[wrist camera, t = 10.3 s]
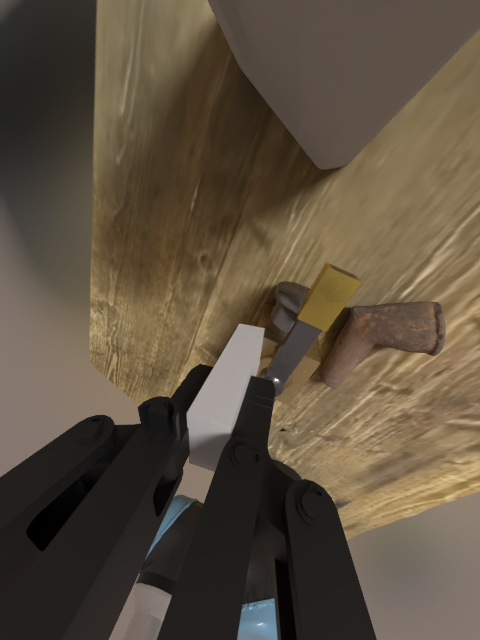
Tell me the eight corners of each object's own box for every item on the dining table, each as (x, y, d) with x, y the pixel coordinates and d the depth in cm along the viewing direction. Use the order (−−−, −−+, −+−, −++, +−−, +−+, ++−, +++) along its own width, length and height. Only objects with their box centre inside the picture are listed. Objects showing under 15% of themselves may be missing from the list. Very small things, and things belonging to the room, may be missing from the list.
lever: (277, 390, 26) (276, 402, 24) (255, 379, 26) (252, 390, 24) (358, 276, 18) (363, 283, 16) (325, 261, 18) (326, 266, 16)
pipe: (309, 389, 31) (381, 425, 29) (370, 287, 23) (479, 324, 20) (315, 364, 37) (376, 393, 34) (366, 274, 28) (452, 302, 26)
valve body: (280, 380, 38) (273, 429, 29) (239, 360, 38) (221, 403, 30) (333, 299, 29) (345, 336, 21) (279, 275, 30) (269, 302, 21)
